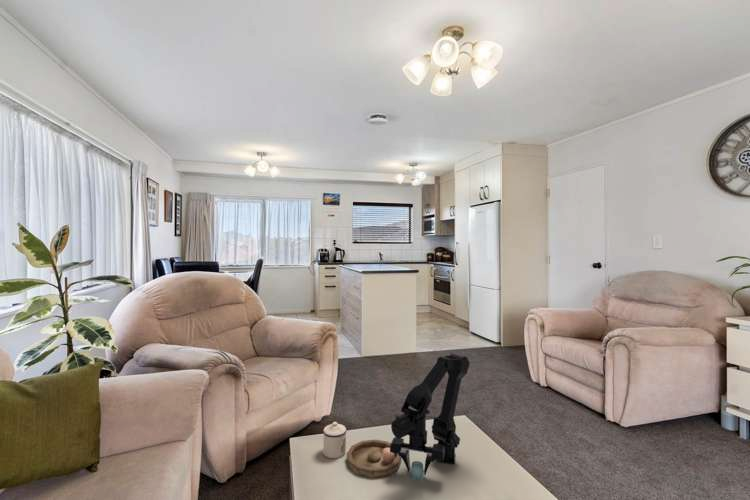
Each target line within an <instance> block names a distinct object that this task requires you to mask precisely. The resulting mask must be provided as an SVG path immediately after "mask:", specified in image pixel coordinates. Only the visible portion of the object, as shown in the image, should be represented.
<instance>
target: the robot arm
mask: <svg viewBox="0 0 750 500" xmlns="http://www.w3.org/2000/svg"><path fill="white" fill-rule="evenodd" d="M469 368H470V360H469V359H468V357H467V356H464V355H461V354H459V353H458V354H457V353H450V354H449V355H443V356H438V358H437V361H436V363H435V364H434V365H433V366H432V369H430V371H429V372H428V374H427V375H426V377H425V378H424V379H423V380H422V382H421V383H420V384H418V385H416V386H414V387H412V389H411V390H410V391H409V392H408V394H407V396H406V398H405V400H404V402H403V404H402V406H401V409H400V412H401V413H403V414H399V415H396V416H395V419H394V420H393V421H392V423H391V424H390V427H391V432H392V434H393V436H394V437H393V438H392V440H391V442H390V443H391V444H390V452H392V453H397V454H398V453H399V454H398V455H399V456H401V457H402V460H403V463H404V466H405V467H406V470H407V472H408V473H410V472H411V461H410V459H411V457H410V451H412V452H418V453H425V454H426V457H425V462H424V468H423V476H426V475H427V472H428V469H429V467H430V465H431V463H434V462H435V461H437V462H441V463H445V464H446V463H447V464H451V465H452V464H453V465H454V464H456V457H457V456H456V455H457V454H456V448H458V446H459V445H460V442H461V438H460V437H459V435H458V434H457V433H456V431H457V430H456V429H457V427H456V425H457V424H456V423H455V418H454V417H455V411H456V406H457V402H458V401H457V400H458V397H459V392H460V388H461V383H462V380H463V378H465V376H466V375H467V373H468V370H469ZM446 374H447V376H448V377H447V382H446V386H445V392H444V396H443V401H442V405H441V410H440V413H439V415H438V416H437V417H435V416H434V417H433V421H432V422H433V423H432V425H431V433H432V436H433V440H435V441H437V443H433V445H432V446H431V445H429V446H426V445H427V443H428V430H427V429H426V428H427V427H426V425H427V419H426V418H427V415H429V414H430V413H431V411H430V410H429V409H428V408H429V407H430V405H431V402H432V400H433V393H434V391H435V390H436V388H437V387H438V385H439V384H440V382H441V381H442V380H443V378H444V377H445V375H446ZM413 409H414V410H413ZM406 436H408V437H409V438H408V441H409V442H408V443H406V442H405V439H404V437H406Z"/></svg>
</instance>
